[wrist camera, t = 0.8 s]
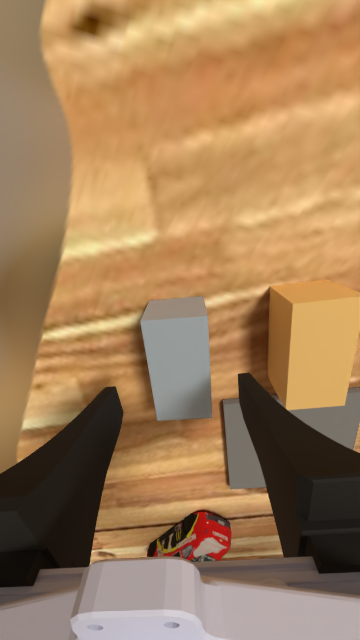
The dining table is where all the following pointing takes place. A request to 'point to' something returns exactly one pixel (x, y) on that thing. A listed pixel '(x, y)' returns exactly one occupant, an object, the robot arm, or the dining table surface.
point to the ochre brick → (312, 342)
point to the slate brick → (178, 357)
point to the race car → (195, 539)
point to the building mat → (326, 420)
